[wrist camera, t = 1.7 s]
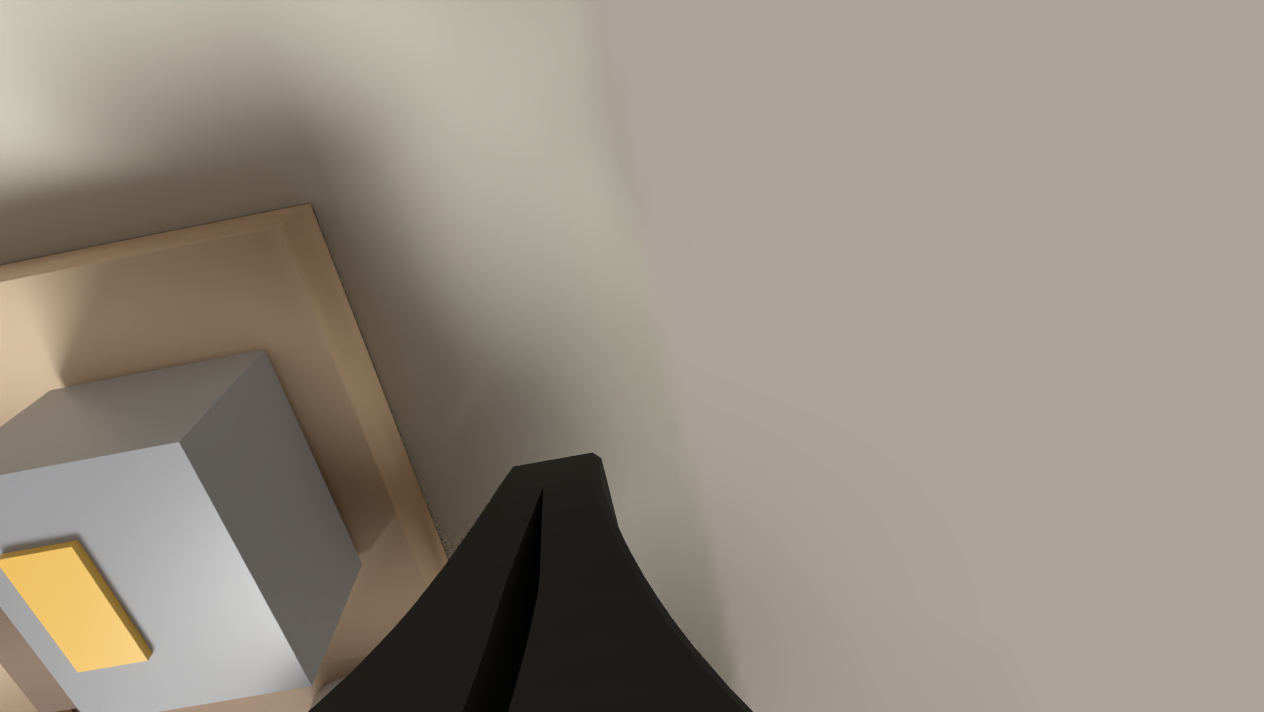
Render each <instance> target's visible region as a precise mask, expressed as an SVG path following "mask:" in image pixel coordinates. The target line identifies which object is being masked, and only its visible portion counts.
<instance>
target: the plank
mask: <svg viewBox="0 0 1264 712" xmlns="http://www.w3.org/2000/svg"><path fill="white" fill-rule="evenodd" d="M263 349H265V351H266V353H267V355H268V358H269V360H270V362H271V364H272V366H273V369H274V371H275V373H276V375H277V377H278V380H279V382H280V384H281V386H282V388H283V391H284V393H285V395H286V397H287V399H288V402H289V404H290V406H291V408H292V410H293V413H294V415H295V417H296V419H297V421H298V424H299V426H300V428H301V430H302V433H303V435H304V437H305V439H306V441H307V444H308V446H309V448H310V450H311V452H312V455H313V457H314V459H315V461H316V463H317V466H318V468H319V470H320V472H321V474H322V477H323V479H324V481H325V483H326V485H327V488H328V490H329V492H330V494H331V496H332V499H333V501H334V503H335V505H336V507H337V510H338V512H339V514H340V516H341V518H342V521H343V523H344V525H345V527H346V529H347V532H348V534H349V536H350V538H351V540H352V543H353V545H354V547H355V549H356V551H357V554H358V556H359V558H360V560H361V563H362V566H361V568H360V571H359V573H358V576H357V578H356V580H355V583H354V585H353V588H352V590H351V593H350V595H349V597H348V600H347V602H346V605H345V607H344V610H343V612H342V614H341V617H340V619H339V622H338V624H337V626H336V629H335V631H334V634H333V636H332V639H331V641H330V643H329V646H328V648H327V651H326V653H325V656H324V658H323V660H322V663H321V665H320V668H319V670H318V673H317V675H316V677H315V680H314V682H313V685H312V686H310V687H304V688H298V689H292V690H286V691H280V692H274V693H268V694H262V695H256V696H250V697H244V698H238V699H232V700H226V701H220V702H214V703H208V704H202V705H196V706H190V707H184V708H178V709H172V710H166V711H160V712H308V711H309V710H310V707H311V705H312V702H313V700H314V697H315V696H316V694H317V693H318V691H319V690H320V689H321V688H322V687H324V686H325V685H326V684H328V683H329V682H331V681H334V680H336V679H339V678H342V677H346V676H347V675H349V674H350V673H351V672H352V671H353V670H354V669H355V668H356V667H357V666H358V665H359V664H360V663H361V662H362V661H363V660H364V659H365V658H366V657H367V656H368V654H369V653H370V652H371V651H372V650H373V649H374V648H375V647H376V646H377V645H378V644H379V643H380V642H381V641H382V640H383V639H384V638H385V637H386V636H387V635H388V633H389V632H390V631H391V630H392V629H393V628H394V627H395V626H396V625H397V623H398V622H399V621H400V620H401V619H402V618H403V617H404V616H405V614H406V613H407V612H408V611H409V610H410V609H411V607H412V606H413V605H414V604H415V603H416V601H417V600H418V599H419V597H420V596H421V595H422V594H423V592H424V591H425V590H426V589H427V587H428V586H429V585H430V584H431V582H432V581H433V580H434V578H435V577H436V576H437V575H438V573H439V572H440V571H441V570H442V568H443V567H444V566H445V564H446V563H447V562H448V558H447V556H446V553H445V551H444V548H443V546H442V543H441V540H440V538H439V535H438V533H437V530H436V527H435V525H434V522H433V520H432V517H431V514H430V512H429V509H428V507H427V504H426V501H425V499H424V496H423V494H422V491H421V489H420V486H419V483H418V481H417V478H416V476H415V473H414V470H413V468H412V465H411V463H410V460H409V457H408V455H407V452H406V450H405V447H404V445H403V442H402V439H401V437H400V434H399V432H398V429H397V426H396V424H395V421H394V419H393V416H392V413H391V411H390V408H389V406H388V403H387V401H386V398H385V395H384V393H383V390H382V388H381V385H380V382H379V380H378V377H377V375H376V372H375V369H374V367H373V364H372V362H371V359H370V356H369V354H368V351H367V349H366V346H365V344H364V341H363V338H362V336H361V333H360V331H359V328H358V325H357V323H356V320H355V318H354V315H353V312H352V310H351V307H350V305H349V302H348V300H347V297H346V294H345V292H344V289H343V287H342V284H341V281H340V279H339V276H338V274H337V271H336V268H335V266H334V263H333V261H332V258H331V256H330V253H329V250H328V248H327V245H326V243H325V240H324V237H323V235H322V232H321V230H320V227H319V224H318V222H317V219H316V217H315V214H314V211H313V209H312V206H311V204H310V203H308V204H303V205H298V206H293V207H289V208H284V209H279V210H274V211H269V212H264V213H259V214H254V215H249V216H244V217H239V218H234V219H229V220H224V221H219V222H214V223H209V224H204V225H199V226H194V227H189V228H184V229H179V230H174V231H169V232H164V233H159V234H154V235H149V236H144V237H139V238H134V239H129V240H124V241H119V242H114V243H109V244H104V245H99V246H94V247H89V248H84V249H79V250H74V251H69V252H64V253H59V254H54V255H49V256H44V257H39V258H34V259H29V260H24V261H19V262H14V263H9V264H4V265H0V427H1V426H2V425H4V424H5V423H6V422H8V421H9V420H10V419H12V418H13V417H14V416H16V415H17V414H18V413H20V412H21V411H23V410H24V409H25V408H27V407H28V406H29V405H31V404H32V403H33V402H35V401H36V400H37V399H39V398H40V397H42V396H43V395H44V394H46V393H47V392H48V391H50V390H53V389H59V388H64V387H69V386H74V385H80V384H85V383H90V382H95V381H101V380H106V379H111V378H116V377H122V376H127V375H132V374H137V373H143V372H148V371H153V370H158V369H163V368H169V367H174V366H179V365H184V364H190V363H195V362H200V361H205V360H211V359H216V358H221V357H226V356H232V355H237V354H242V353H247V352H253V351H258V350H263ZM75 708H77V707H76V706H75V705H74V703H73V702H72V701H71V699H70V698H69V697H68V696H67V694H66V693H65V692H64V690H63V689H62V688H61V686H60V685H59V684H58V682H57V681H56V680H55V678H54V677H53V676H52V674H51V673H50V672H49V670H48V669H47V668H46V667H45V665H44V664H43V663H42V661H41V660H40V659H39V657H38V656H37V655H36V653H35V652H34V651H33V649H32V648H31V647H30V645H29V644H28V643H27V642H26V640H25V639H24V638H23V636H22V635H21V634H20V632H19V631H18V630H17V628H16V627H15V626H14V624H13V623H12V622H11V620H10V619H9V618H8V616H7V615H6V614H5V613H4V611H3V610H2V609H1V607H0V712H73V711H72V710H71V709H75Z"/></svg>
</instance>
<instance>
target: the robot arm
mask: <svg viewBox="0 0 1264 712" xmlns="http://www.w3.org/2000/svg"><path fill="white" fill-rule="evenodd" d="M308 712H753V711H752V710H751V709H750V708H749V707H748V706H747V705H746V704H745V703H744V702H743V701H742V700H741V699H740V698H739V697H738V696H737V695H736V694H735V693H734V692H733V691H732V690H731V689H730V688H729V687H728V685H727V684H726V683H725V682H724V681H723V680H722V679H721V677H720V676H719V675H718V674H717V673H716V672H715V670H714V669H713V668H712V667H711V666H710V665H709V664H708V662H707V661H706V660H705V659H704V658H703V657H702V655H701V654H700V653H699V652H698V651H697V650H696V649H695V647H694V646H693V645H692V644H691V643H690V641H689V640H688V639H687V637H686V636H685V635H684V633H683V632H682V631H681V629H680V628H679V627H678V626H677V624H676V623H675V622H674V620H673V619H672V618H671V616H670V615H669V613H668V612H667V610H666V609H665V607H664V606H663V605H662V603H661V602H660V600H659V599H658V597H657V596H656V594H655V593H654V591H653V590H652V588H651V587H650V585H649V583H648V582H647V580H646V578H645V577H644V575H643V573H642V572H641V570H640V568H639V566H638V565H637V563H636V561H635V559H634V558H633V556H632V554H631V552H630V550H629V548H628V546H627V544H626V542H625V540H624V538H623V536H622V534H621V532H620V529H619V527H618V523H617V519H616V515H615V511H614V507H613V503H612V499H611V495H610V491H609V487H608V483H607V479H606V475H605V471H604V467H603V463H602V459H601V458H600V457H599V456H597V455H595V454H594V453H588V454H582V455H576V456H571V457H565V458H560V459H554V460H548V461H543V462H537V463H532V464H526V465H520V466H515V467H513V468H512V469H511V471H510V472H509V474H508V475H507V476H506V478H505V479H504V481H503V482H502V483H501V485H500V486H499V488H498V489H497V491H496V492H495V494H494V495H493V497H492V498H491V500H490V501H489V503H488V504H487V506H486V507H485V509H484V510H483V512H482V513H481V515H480V516H479V518H478V519H477V521H476V522H475V524H474V525H473V527H472V528H471V529H470V531H469V532H468V534H467V535H466V536H465V538H464V539H463V541H462V542H461V544H460V545H459V546H458V548H457V549H456V551H455V552H454V553H453V555H452V556H451V558H450V559H449V560H448V562H447V563H446V564H445V566H444V567H443V568H442V570H441V571H440V572H439V573H438V575H437V576H436V577H435V578H434V580H433V581H432V582H431V584H430V585H429V586H428V587H427V589H426V590H425V591H424V592H423V594H422V595H421V596H420V597H419V599H418V600H417V601H416V603H415V604H414V605H413V606H412V607H411V609H410V610H409V611H408V612H407V613H406V614H405V616H404V617H403V618H402V619H401V620H400V621H399V622H398V623H397V625H396V626H395V627H394V628H393V629H392V630H391V631H390V632H389V633H388V635H387V636H386V637H385V638H384V639H383V640H382V641H381V642H380V643H379V644H378V645H377V646H376V647H375V648H374V649H373V650H372V651H371V652H370V653H369V654H368V656H367V657H366V658H365V659H364V660H363V661H362V662H361V663H360V664H359V665H358V666H357V667H356V668H355V669H354V670H353V671H352V672H351V673H350V674H349V675H347V676H346V677H345V678H344V679H343V680H342V681H341V682H340V683H339V684H338V685H337V686H336V687H334V688H333V689H332V690H331V691H330V692H329V693H328V694H327V695H326V696H325V697H324V698H322V699H321V700H320V701H319V702H318V703H317V704H316V705H315V706H314V707H313V708H312V709H311V710H309V711H308Z"/></svg>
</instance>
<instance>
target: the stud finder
mask: <svg viewBox="0 0 1264 712" xmlns="http://www.w3.org/2000/svg"><path fill="white" fill-rule="evenodd" d="M361 566H362V563H361V560H360V558H359V556H358V554H357V551H356V549H355V547H354V545H353V543H352V540H351V538H350V536H349V534H348V532H347V529H346V527H345V525H344V523H343V521H342V518H341V516H340V514H339V512H338V510H337V507H336V505H335V503H334V501H333V499H332V496H331V494H330V492H329V490H328V488H327V485H326V483H325V481H324V479H323V477H322V474H321V472H320V470H319V468H318V466H317V463H316V461H315V459H314V457H313V455H312V452H311V450H310V448H309V446H308V444H307V441H306V439H305V437H304V435H303V433H302V430H301V428H300V426H299V424H298V421H297V419H296V417H295V415H294V413H293V410H292V408H291V406H290V404H289V402H288V399H287V397H286V395H285V393H284V391H283V388H282V386H281V384H280V382H279V380H278V377H277V375H276V373H275V371H274V369H273V366H272V364H271V362H270V360H269V358H268V355H267V353H266V351H265V349H263V350H258V351H253V352H247V353H242V354H237V355H232V356H226V357H221V358H216V359H211V360H205V361H200V362H195V363H190V364H184V365H179V366H174V367H169V368H163V369H158V370H153V371H148V372H143V373H137V374H132V375H127V376H122V377H116V378H111V379H106V380H101V381H95V382H90V383H85V384H80V385H74V386H69V387H64V388H59V389H53V390H50V391H48V392H47V393H46V394H44V395H43V396H42V397H40V398H39V399H37V400H36V401H35V402H33V403H32V404H31V405H29V406H28V407H27V408H25V409H24V410H23V411H21V412H20V413H18V414H17V415H16V416H14V417H13V418H12V419H10V420H9V421H8V422H6V423H5V424H4V425H2V426H1V427H0V607H1V609H2V610H3V611H4V613H5V614H6V615H7V616H8V618H9V619H10V620H11V622H12V623H13V624H14V626H15V627H16V628H17V630H18V631H19V632H20V634H21V635H22V636H23V638H24V639H25V640H26V642H27V643H28V644H29V645H30V647H31V648H32V649H33V651H34V652H35V653H36V655H37V656H38V657H39V659H40V660H41V661H42V663H43V664H44V665H45V667H46V668H47V669H48V670H49V672H50V673H51V674H52V676H53V677H54V678H55V680H56V681H57V682H58V684H59V685H60V686H61V688H62V689H63V690H64V692H65V693H66V694H67V696H68V697H69V698H70V699H71V701H72V702H73V703H74V705H75V706H76V707H77V709H78V710H79V711H80V712H160V711H166V710H172V709H178V708H184V707H190V706H196V705H202V704H208V703H214V702H220V701H226V700H232V699H238V698H244V697H250V696H256V695H262V694H268V693H274V692H280V691H286V690H292V689H298V688H304V687H310V686H312V685H313V682H314V680H315V677H316V675H317V673H318V670H319V668H320V665H321V663H322V660H323V658H324V656H325V653H326V651H327V648H328V646H329V643H330V641H331V639H332V636H333V634H334V631H335V629H336V626H337V624H338V622H339V619H340V617H341V614H342V612H343V610H344V607H345V605H346V602H347V600H348V597H349V595H350V593H351V590H352V588H353V585H354V583H355V580H356V578H357V576H358V573H359V571H360V568H361Z"/></svg>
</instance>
